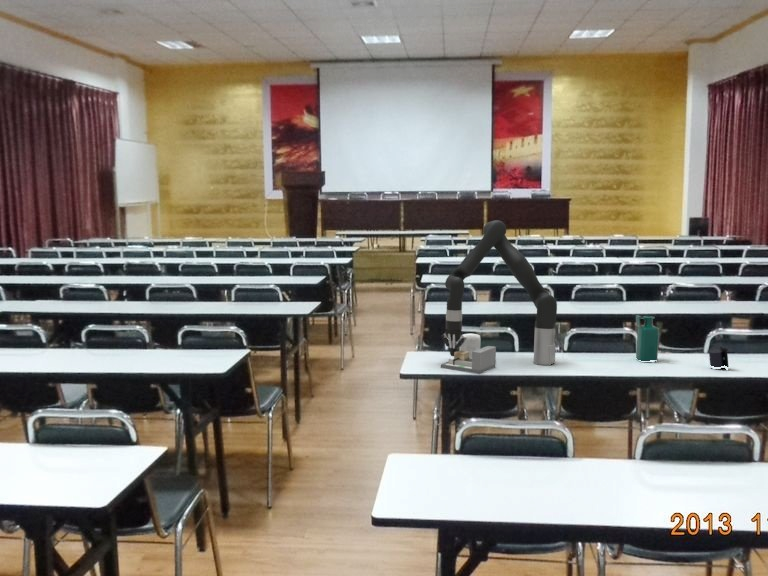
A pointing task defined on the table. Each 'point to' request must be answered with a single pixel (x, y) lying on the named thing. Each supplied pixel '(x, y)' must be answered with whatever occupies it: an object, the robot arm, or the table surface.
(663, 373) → the table surface
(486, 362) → the base
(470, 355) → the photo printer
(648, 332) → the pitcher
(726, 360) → the speaker
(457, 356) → the gauge carriage
